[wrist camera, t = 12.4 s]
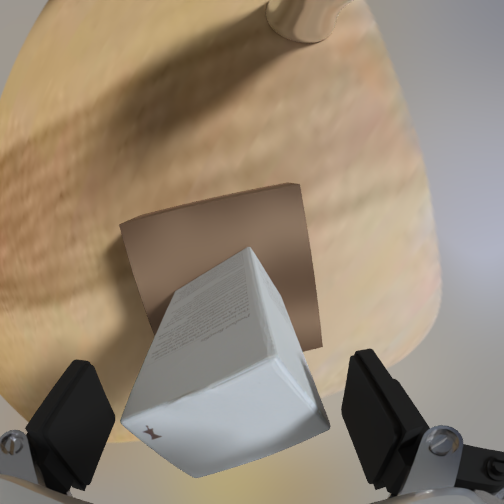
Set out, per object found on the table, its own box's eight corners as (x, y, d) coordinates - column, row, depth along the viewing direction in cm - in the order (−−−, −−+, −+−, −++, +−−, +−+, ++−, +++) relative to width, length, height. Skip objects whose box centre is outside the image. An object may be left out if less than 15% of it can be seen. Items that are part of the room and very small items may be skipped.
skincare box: (210, 336, 20) (191, 481, 9) (174, 289, 19) (112, 421, 8) (284, 294, 20) (335, 431, 8) (251, 242, 19) (274, 351, 7)
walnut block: (142, 214, 23) (119, 224, 18) (287, 182, 23) (299, 184, 18) (180, 341, 26) (170, 373, 21) (308, 317, 26) (322, 346, 21)
